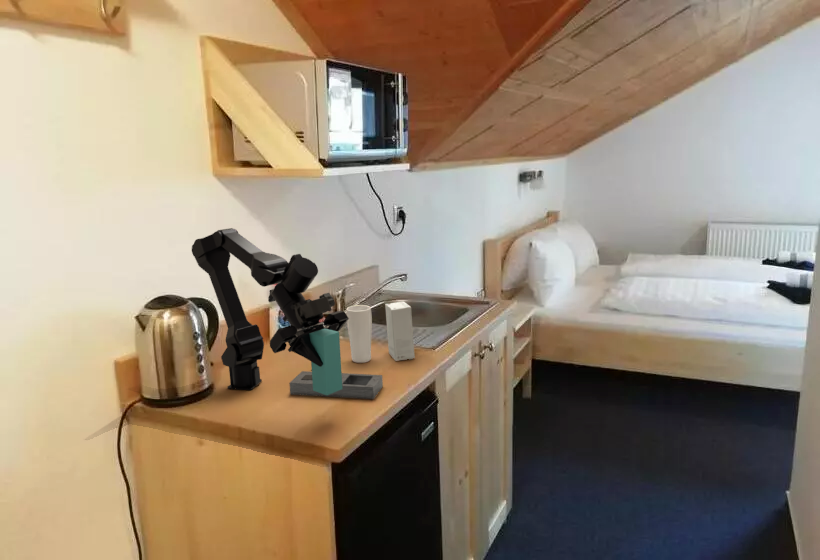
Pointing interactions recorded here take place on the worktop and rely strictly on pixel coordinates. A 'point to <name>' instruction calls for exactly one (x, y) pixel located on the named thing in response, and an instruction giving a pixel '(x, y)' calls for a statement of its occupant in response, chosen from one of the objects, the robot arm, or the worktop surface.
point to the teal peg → (327, 362)
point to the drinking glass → (360, 332)
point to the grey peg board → (351, 386)
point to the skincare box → (400, 331)
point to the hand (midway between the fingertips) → (330, 362)
